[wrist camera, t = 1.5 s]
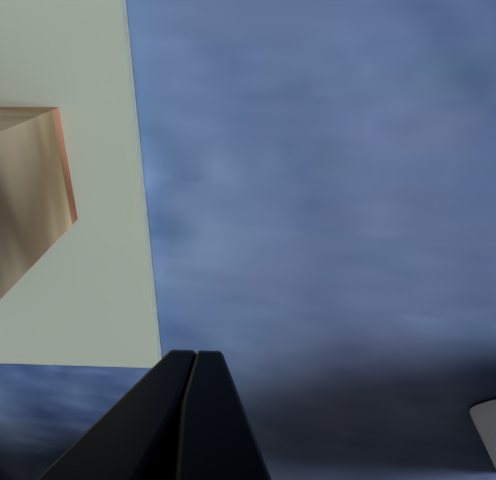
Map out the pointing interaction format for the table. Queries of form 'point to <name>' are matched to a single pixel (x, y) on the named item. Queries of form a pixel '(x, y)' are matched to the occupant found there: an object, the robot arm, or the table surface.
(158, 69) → the table surface
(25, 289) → the sage mat
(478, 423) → the skincare box
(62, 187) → the maple block
